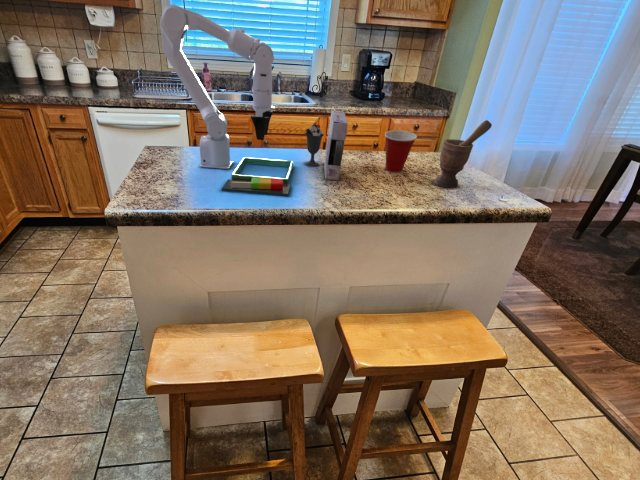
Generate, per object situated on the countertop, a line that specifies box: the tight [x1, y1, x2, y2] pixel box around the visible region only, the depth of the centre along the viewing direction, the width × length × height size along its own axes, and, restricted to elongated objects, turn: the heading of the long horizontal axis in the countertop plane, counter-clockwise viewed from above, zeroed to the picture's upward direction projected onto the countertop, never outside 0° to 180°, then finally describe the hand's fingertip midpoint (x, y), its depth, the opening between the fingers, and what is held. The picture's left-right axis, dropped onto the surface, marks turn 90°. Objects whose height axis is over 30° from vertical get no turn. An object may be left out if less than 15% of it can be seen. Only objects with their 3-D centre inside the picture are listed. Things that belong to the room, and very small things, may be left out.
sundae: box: [304, 117, 325, 167], centre depth 131 cm, size 7×7×15 cm
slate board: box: [221, 179, 291, 197], centre depth 112 cm, size 19×8×1 cm, turn 85°
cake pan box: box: [323, 109, 349, 181], centre depth 124 cm, size 19×5×18 cm, turn 176°
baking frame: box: [231, 156, 294, 184], centre depth 124 cm, size 17×20×2 cm
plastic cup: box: [384, 129, 418, 173], centre depth 132 cm, size 11×11×12 cm
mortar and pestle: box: [433, 119, 493, 189], centre depth 119 cm, size 12×9×20 cm
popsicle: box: [232, 177, 283, 190], centre depth 111 cm, size 6×15×2 cm, turn 93°
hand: (262, 137), depth 125 cm, fingers open, 7 cm apart
